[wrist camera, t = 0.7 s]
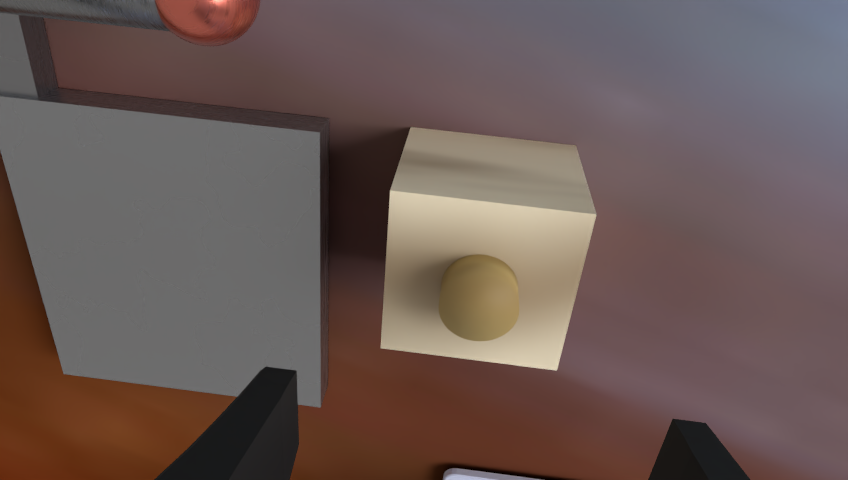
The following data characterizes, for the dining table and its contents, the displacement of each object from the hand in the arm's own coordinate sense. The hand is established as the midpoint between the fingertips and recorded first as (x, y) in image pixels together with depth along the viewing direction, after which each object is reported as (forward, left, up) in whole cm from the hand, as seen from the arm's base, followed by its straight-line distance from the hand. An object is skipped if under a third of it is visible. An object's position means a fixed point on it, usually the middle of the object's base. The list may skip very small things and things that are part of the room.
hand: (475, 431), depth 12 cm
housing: (0, 0, -9) cm, 9 cm away
